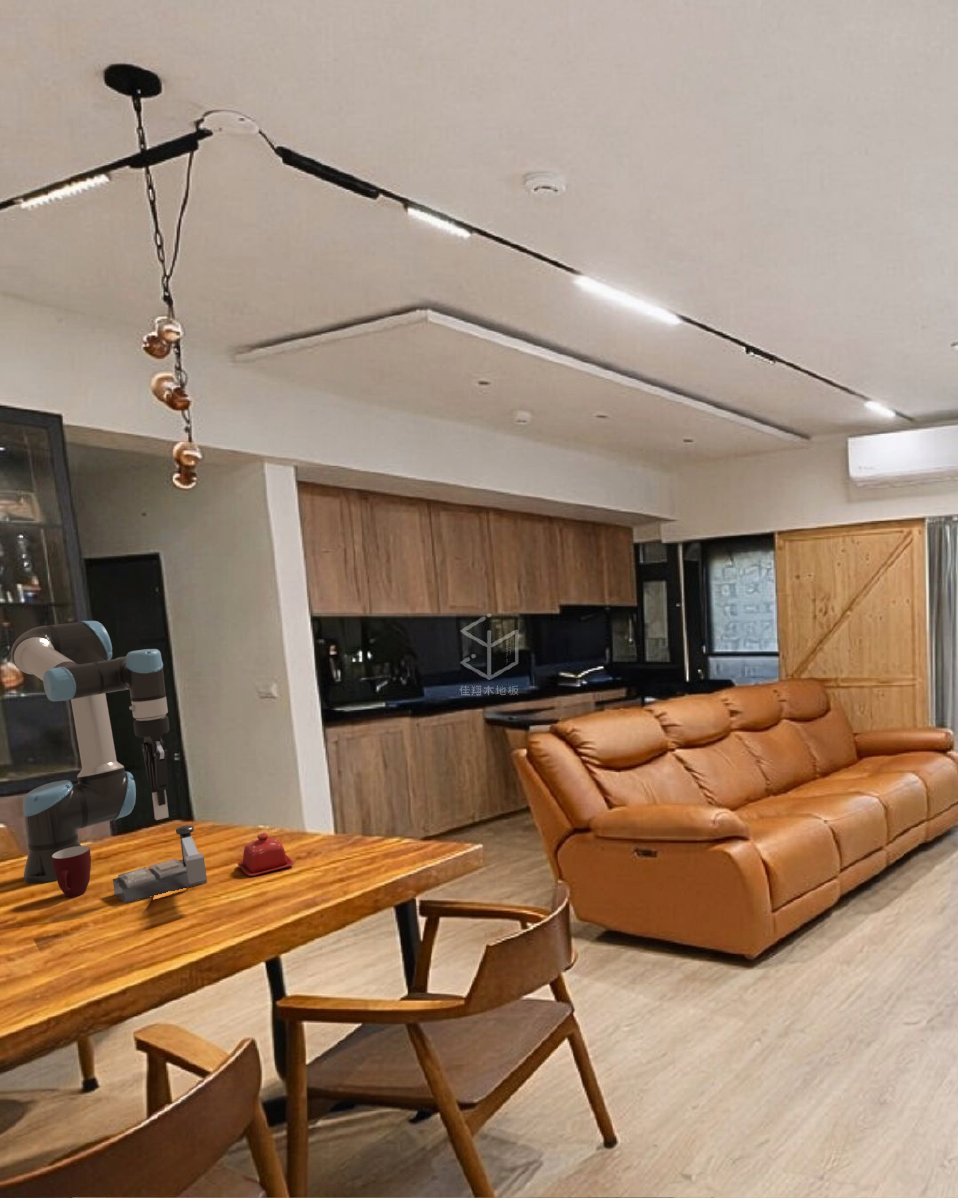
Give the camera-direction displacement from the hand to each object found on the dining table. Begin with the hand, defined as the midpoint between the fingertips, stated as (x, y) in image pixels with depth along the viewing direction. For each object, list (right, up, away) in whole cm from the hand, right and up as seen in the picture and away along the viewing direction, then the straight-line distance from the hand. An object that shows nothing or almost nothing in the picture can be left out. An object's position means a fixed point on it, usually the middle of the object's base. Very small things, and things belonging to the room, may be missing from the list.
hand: (161, 817), depth 198 cm
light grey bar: (+9, -10, -6) cm, 15 cm away
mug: (-20, -18, +1) cm, 27 cm away
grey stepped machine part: (0, -17, -1) cm, 17 cm away
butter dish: (+22, -15, +9) cm, 28 cm away
